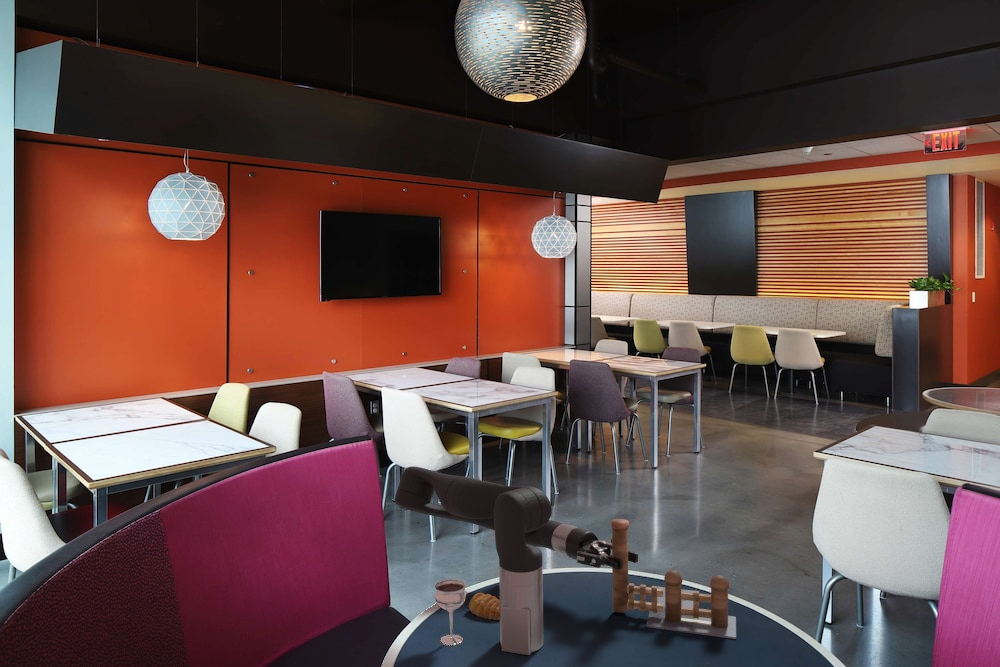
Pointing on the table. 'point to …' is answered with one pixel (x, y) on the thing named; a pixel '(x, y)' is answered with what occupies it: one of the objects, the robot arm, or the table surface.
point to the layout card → (690, 622)
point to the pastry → (485, 606)
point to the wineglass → (450, 604)
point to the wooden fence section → (621, 576)
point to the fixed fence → (696, 600)
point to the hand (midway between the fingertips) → (629, 561)
